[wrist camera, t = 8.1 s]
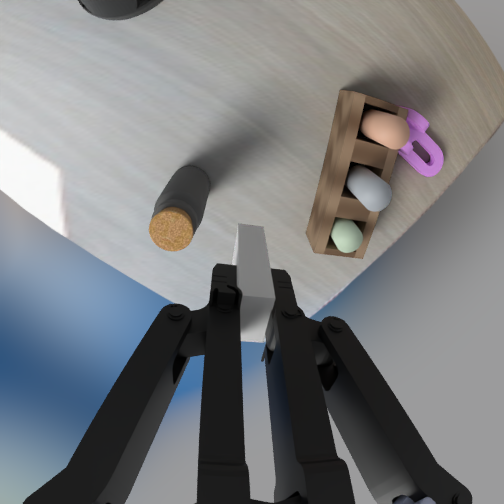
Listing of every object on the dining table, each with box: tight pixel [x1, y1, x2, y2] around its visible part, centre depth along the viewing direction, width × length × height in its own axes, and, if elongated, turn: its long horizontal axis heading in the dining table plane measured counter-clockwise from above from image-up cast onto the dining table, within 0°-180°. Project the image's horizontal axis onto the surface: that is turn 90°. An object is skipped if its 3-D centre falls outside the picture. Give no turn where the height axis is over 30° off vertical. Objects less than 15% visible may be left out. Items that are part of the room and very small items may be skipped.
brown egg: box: [359, 110, 410, 149], centre depth 32 cm, size 4×4×6 cm
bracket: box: [397, 105, 443, 177], centre depth 37 cm, size 13×6×7 cm, turn 58°
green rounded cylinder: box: [330, 217, 363, 253], centre depth 43 cm, size 4×4×6 cm
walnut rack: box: [306, 90, 408, 259], centre depth 40 cm, size 23×8×6 cm, turn 171°
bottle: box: [149, 166, 210, 251], centre depth 37 cm, size 6×6×15 cm
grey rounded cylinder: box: [345, 165, 392, 212], centre depth 36 cm, size 4×4×6 cm
